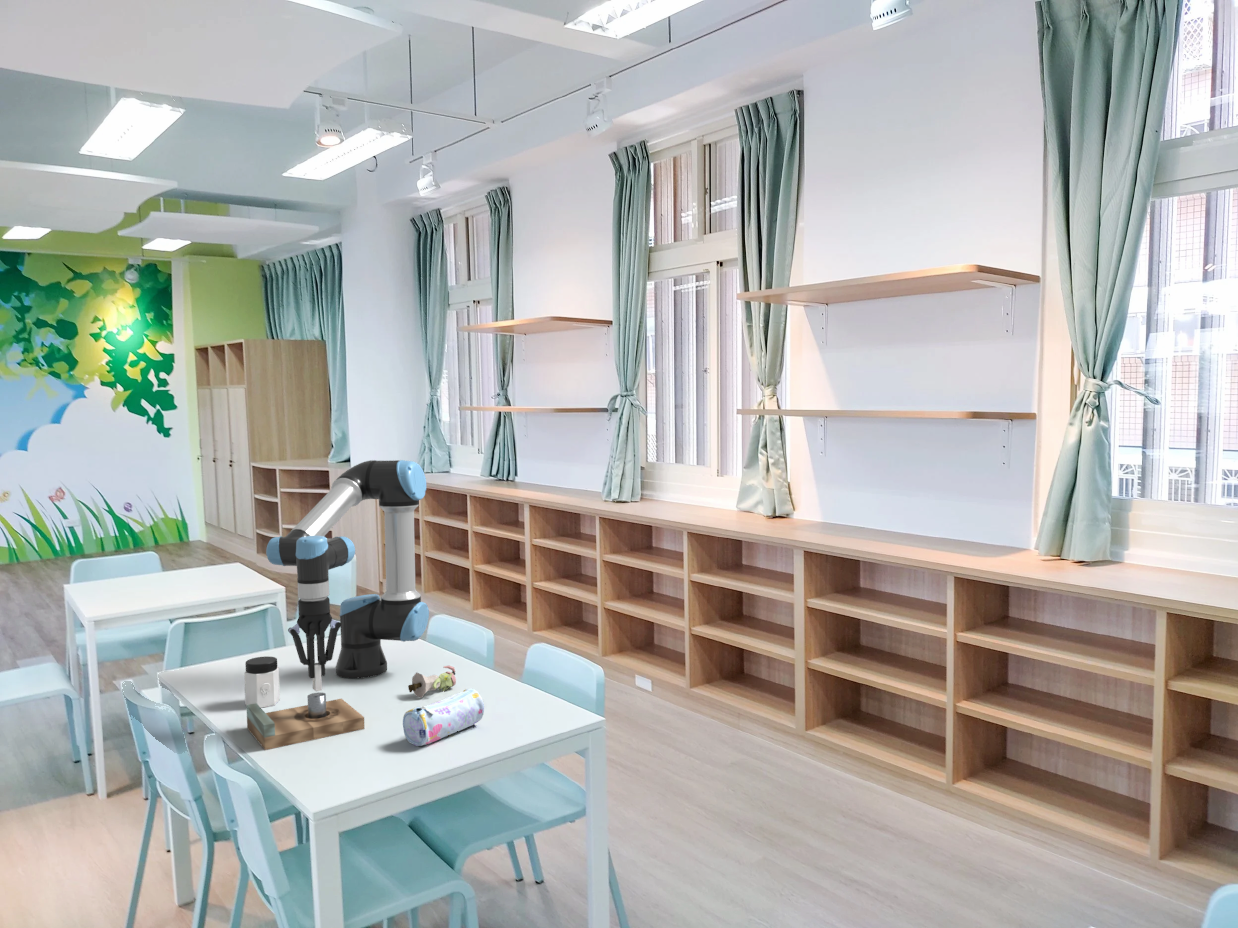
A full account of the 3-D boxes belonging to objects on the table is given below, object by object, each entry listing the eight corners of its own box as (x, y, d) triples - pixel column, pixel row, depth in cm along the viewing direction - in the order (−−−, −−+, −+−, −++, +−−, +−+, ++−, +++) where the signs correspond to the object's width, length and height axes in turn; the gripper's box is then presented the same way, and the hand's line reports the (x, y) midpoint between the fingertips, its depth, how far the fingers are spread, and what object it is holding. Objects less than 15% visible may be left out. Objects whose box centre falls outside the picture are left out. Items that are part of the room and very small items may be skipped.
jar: (248, 710, 244) (247, 666, 243) (242, 702, 251) (240, 659, 250) (283, 704, 249) (282, 661, 248) (276, 696, 256) (274, 654, 255)
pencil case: (422, 751, 214) (421, 711, 214) (399, 743, 220) (397, 704, 219) (487, 726, 231) (486, 689, 230) (464, 719, 236) (463, 683, 235)
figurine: (422, 697, 249) (467, 687, 259) (417, 670, 250) (462, 661, 261) (405, 702, 254) (450, 692, 265) (400, 675, 256) (445, 666, 267)
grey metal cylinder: (323, 721, 235) (322, 691, 234) (329, 726, 231) (328, 695, 231) (306, 725, 232) (305, 694, 232) (311, 730, 229) (310, 698, 228)
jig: (341, 709, 244) (341, 687, 244) (364, 728, 229) (363, 705, 229) (247, 728, 231) (246, 704, 230) (265, 749, 216) (264, 725, 215)
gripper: (335, 591, 236) (338, 680, 238) (283, 598, 229) (286, 690, 231) (344, 596, 230) (347, 688, 232) (291, 604, 223) (295, 698, 225)
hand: (317, 689), depth 231 cm, fingers closed
